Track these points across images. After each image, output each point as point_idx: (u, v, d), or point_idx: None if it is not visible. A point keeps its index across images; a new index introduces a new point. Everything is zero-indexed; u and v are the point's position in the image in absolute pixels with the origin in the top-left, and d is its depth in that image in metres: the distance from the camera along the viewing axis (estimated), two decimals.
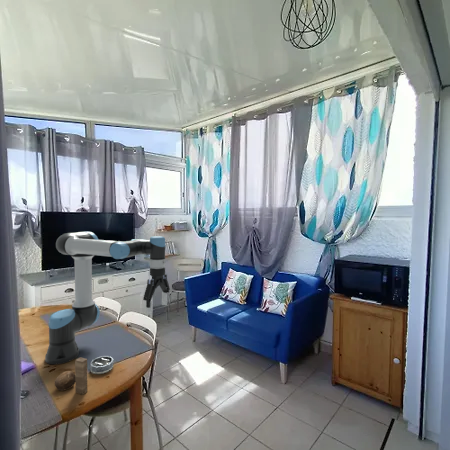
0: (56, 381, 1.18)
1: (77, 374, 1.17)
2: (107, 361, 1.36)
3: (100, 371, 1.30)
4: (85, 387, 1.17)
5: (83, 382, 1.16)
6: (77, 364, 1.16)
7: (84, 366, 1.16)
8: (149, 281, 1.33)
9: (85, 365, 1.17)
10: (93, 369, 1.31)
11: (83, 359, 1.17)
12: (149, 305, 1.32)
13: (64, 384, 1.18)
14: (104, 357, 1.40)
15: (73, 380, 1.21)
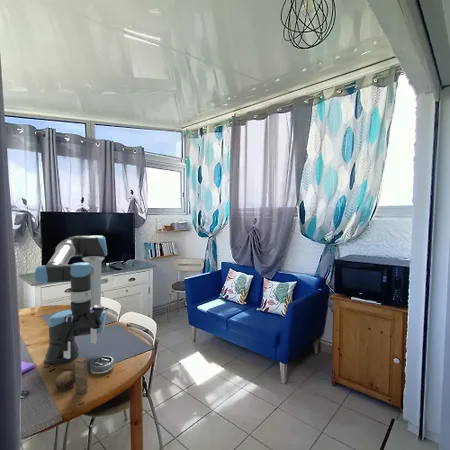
0: (56, 381, 1.18)
1: (77, 374, 1.17)
2: (107, 361, 1.36)
3: (100, 371, 1.30)
4: (85, 387, 1.17)
5: (83, 382, 1.16)
6: (77, 364, 1.16)
7: (84, 366, 1.16)
8: (66, 319, 1.10)
9: (85, 365, 1.17)
10: (93, 369, 1.31)
11: (83, 359, 1.17)
12: (66, 348, 1.09)
13: (64, 384, 1.18)
14: (104, 357, 1.40)
15: (73, 380, 1.21)
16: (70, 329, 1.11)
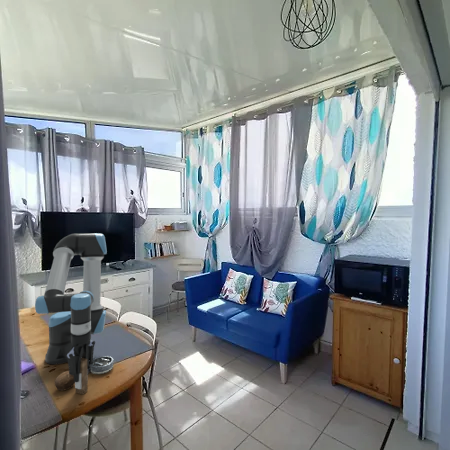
0: (56, 381, 1.18)
1: None
2: (107, 361, 1.36)
3: (100, 371, 1.30)
4: (85, 387, 1.17)
5: (83, 382, 1.16)
6: None
7: (84, 366, 1.16)
8: (68, 356, 1.11)
9: (85, 365, 1.17)
10: (93, 369, 1.31)
11: (83, 359, 1.17)
12: (77, 379, 1.15)
13: (64, 384, 1.18)
14: (104, 357, 1.40)
15: (73, 380, 1.21)
16: (76, 362, 1.15)
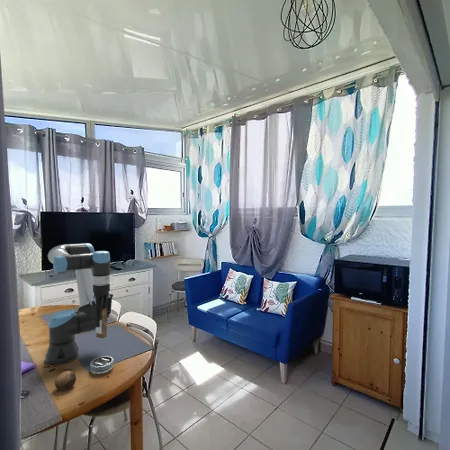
0: (56, 381, 1.18)
1: None
2: (107, 361, 1.36)
3: (100, 371, 1.30)
4: (105, 332, 1.34)
5: (103, 328, 1.33)
6: None
7: (104, 313, 1.33)
8: (90, 303, 1.28)
9: (105, 313, 1.33)
10: (93, 369, 1.31)
11: (103, 308, 1.34)
12: (98, 325, 1.31)
13: (64, 384, 1.18)
14: (104, 357, 1.40)
15: (73, 380, 1.21)
16: (97, 309, 1.31)
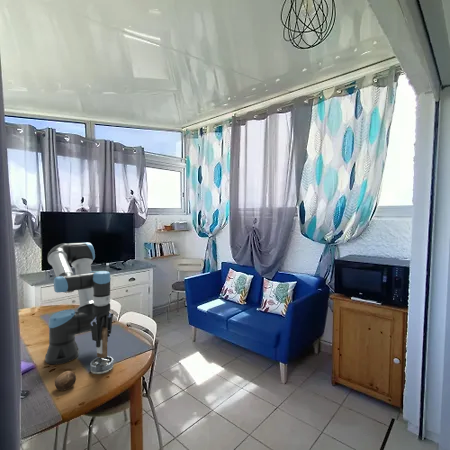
0: (56, 381, 1.18)
1: None
2: (107, 361, 1.36)
3: (100, 371, 1.30)
4: (105, 352, 1.35)
5: (104, 348, 1.34)
6: None
7: (104, 333, 1.34)
8: (91, 324, 1.28)
9: (105, 333, 1.34)
10: (93, 369, 1.31)
11: (104, 328, 1.35)
12: (99, 345, 1.32)
13: (64, 384, 1.18)
14: None
15: (73, 380, 1.21)
16: (98, 330, 1.32)
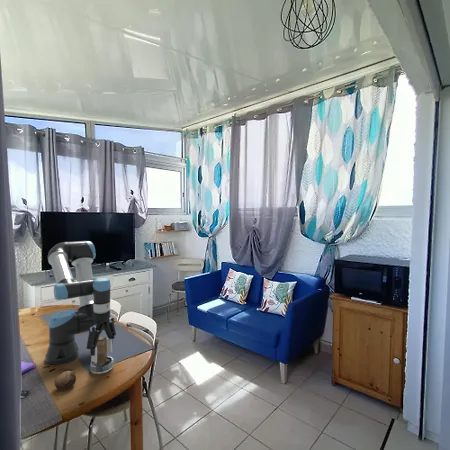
0: (56, 381, 1.18)
1: (98, 351, 1.34)
2: (107, 361, 1.36)
3: (100, 371, 1.30)
4: (105, 362, 1.35)
5: (104, 358, 1.34)
6: (98, 342, 1.34)
7: (104, 344, 1.34)
8: (90, 329, 1.28)
9: (105, 343, 1.34)
10: (93, 369, 1.31)
11: (103, 338, 1.35)
12: (93, 353, 1.29)
13: (64, 384, 1.18)
14: None
15: (73, 380, 1.21)
16: (95, 337, 1.30)
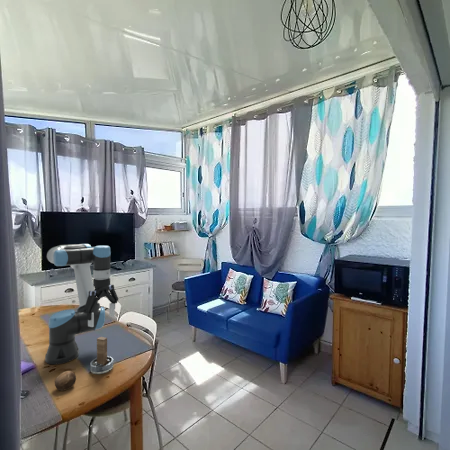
0: (56, 381, 1.18)
1: (98, 351, 1.34)
2: (107, 361, 1.36)
3: (100, 371, 1.30)
4: (105, 362, 1.35)
5: (104, 358, 1.34)
6: (98, 342, 1.34)
7: (104, 344, 1.34)
8: (90, 293, 1.28)
9: (105, 343, 1.34)
10: (93, 369, 1.31)
11: (103, 338, 1.35)
12: (90, 318, 1.27)
13: (64, 384, 1.18)
14: None
15: (73, 380, 1.21)
16: (93, 302, 1.29)
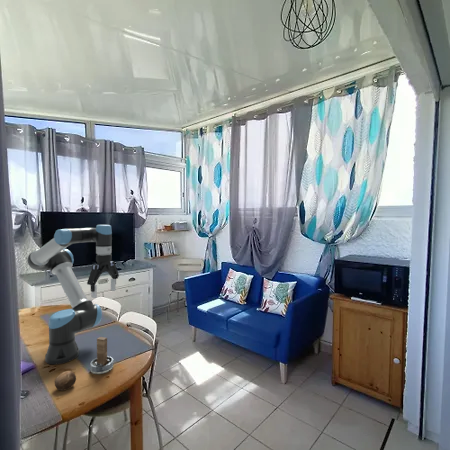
0: (56, 381, 1.18)
1: (98, 351, 1.34)
2: (107, 361, 1.36)
3: (100, 371, 1.30)
4: (105, 362, 1.35)
5: (104, 358, 1.34)
6: (98, 342, 1.34)
7: (104, 344, 1.34)
8: (93, 266, 1.40)
9: (105, 343, 1.34)
10: (93, 369, 1.31)
11: (103, 338, 1.35)
12: (93, 289, 1.39)
13: (64, 384, 1.18)
14: None
15: (73, 380, 1.21)
16: (96, 275, 1.42)
